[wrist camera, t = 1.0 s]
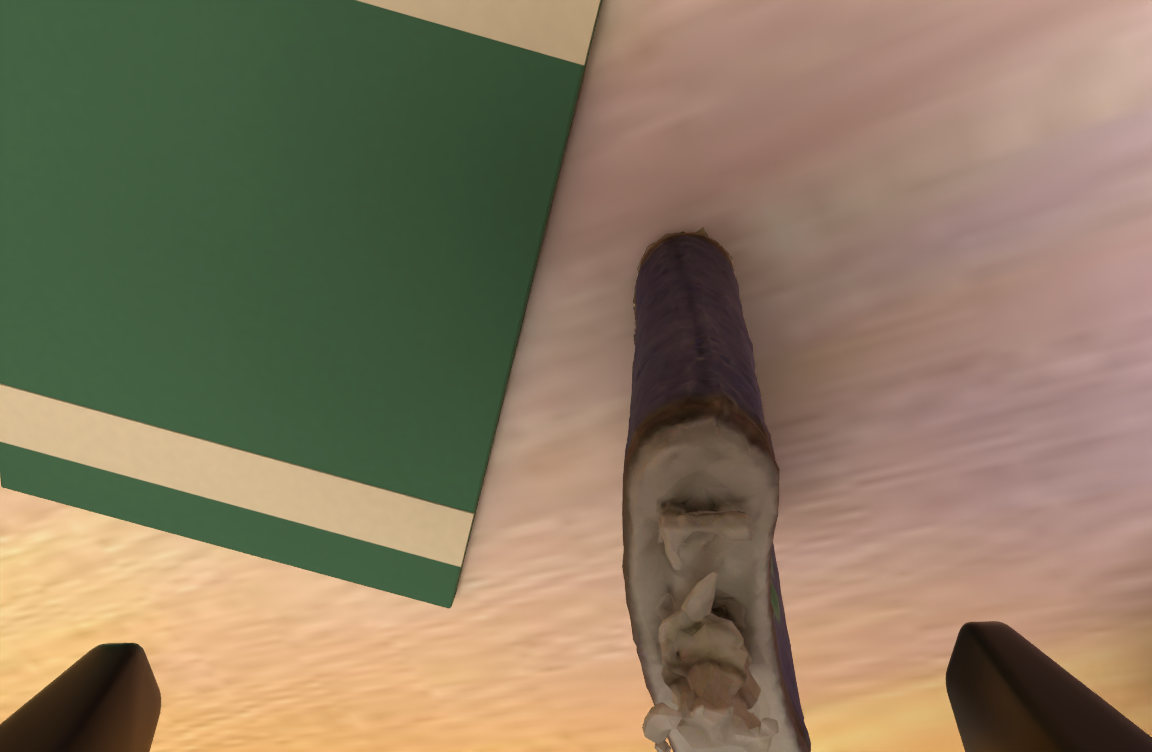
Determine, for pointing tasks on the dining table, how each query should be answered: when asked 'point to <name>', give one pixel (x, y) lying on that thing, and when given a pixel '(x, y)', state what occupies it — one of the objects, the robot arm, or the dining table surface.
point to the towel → (276, 263)
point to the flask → (703, 515)
